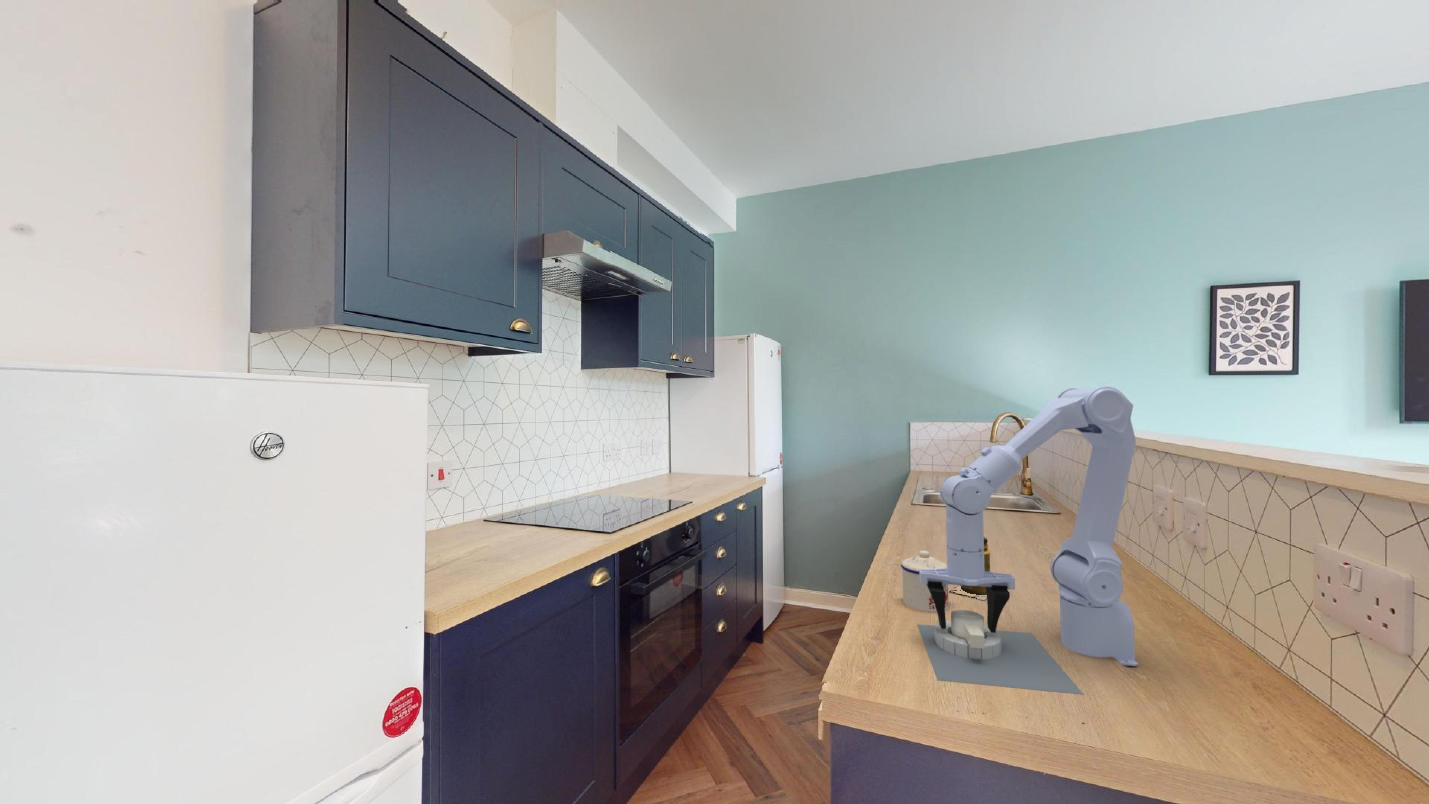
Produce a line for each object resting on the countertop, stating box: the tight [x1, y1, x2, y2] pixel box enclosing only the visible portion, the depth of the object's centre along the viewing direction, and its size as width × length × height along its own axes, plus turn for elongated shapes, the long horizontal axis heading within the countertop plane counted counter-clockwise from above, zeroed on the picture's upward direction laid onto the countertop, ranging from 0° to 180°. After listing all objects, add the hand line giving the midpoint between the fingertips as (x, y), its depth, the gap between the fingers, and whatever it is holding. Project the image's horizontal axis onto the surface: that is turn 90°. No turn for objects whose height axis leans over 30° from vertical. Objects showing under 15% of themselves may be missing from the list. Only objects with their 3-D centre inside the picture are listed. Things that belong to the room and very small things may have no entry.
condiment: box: [949, 536, 991, 601], centre depth 115 cm, size 7×8×12 cm
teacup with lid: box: [900, 550, 950, 613], centre depth 106 cm, size 12×9×12 cm
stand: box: [916, 620, 1085, 696], centre depth 84 cm, size 19×20×3 cm
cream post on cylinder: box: [950, 609, 985, 649], centre depth 85 cm, size 9×5×5 cm, turn 167°
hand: (966, 628), depth 87 cm, fingers open, 7 cm apart
